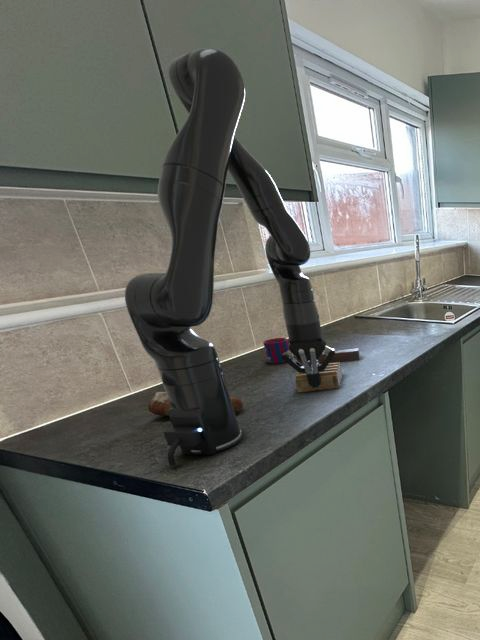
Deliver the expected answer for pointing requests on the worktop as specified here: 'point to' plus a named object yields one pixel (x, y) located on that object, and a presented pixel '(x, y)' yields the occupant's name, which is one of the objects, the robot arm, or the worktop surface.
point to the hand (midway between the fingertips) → (315, 386)
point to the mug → (276, 349)
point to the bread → (162, 404)
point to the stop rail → (340, 356)
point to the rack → (328, 378)
